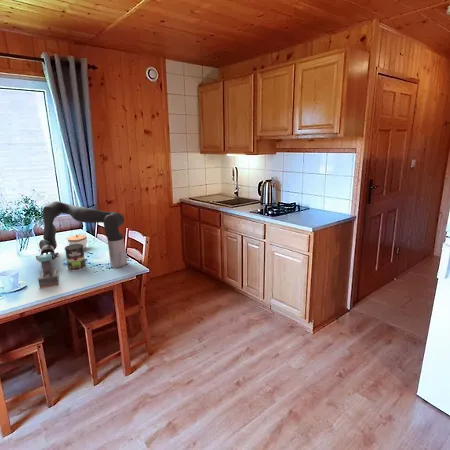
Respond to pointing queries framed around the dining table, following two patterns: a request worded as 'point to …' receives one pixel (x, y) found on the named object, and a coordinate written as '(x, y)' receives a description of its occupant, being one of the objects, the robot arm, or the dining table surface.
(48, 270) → the knob
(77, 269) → the coffee can
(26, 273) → the dining table surface
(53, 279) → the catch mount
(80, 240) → the lidded bowl
